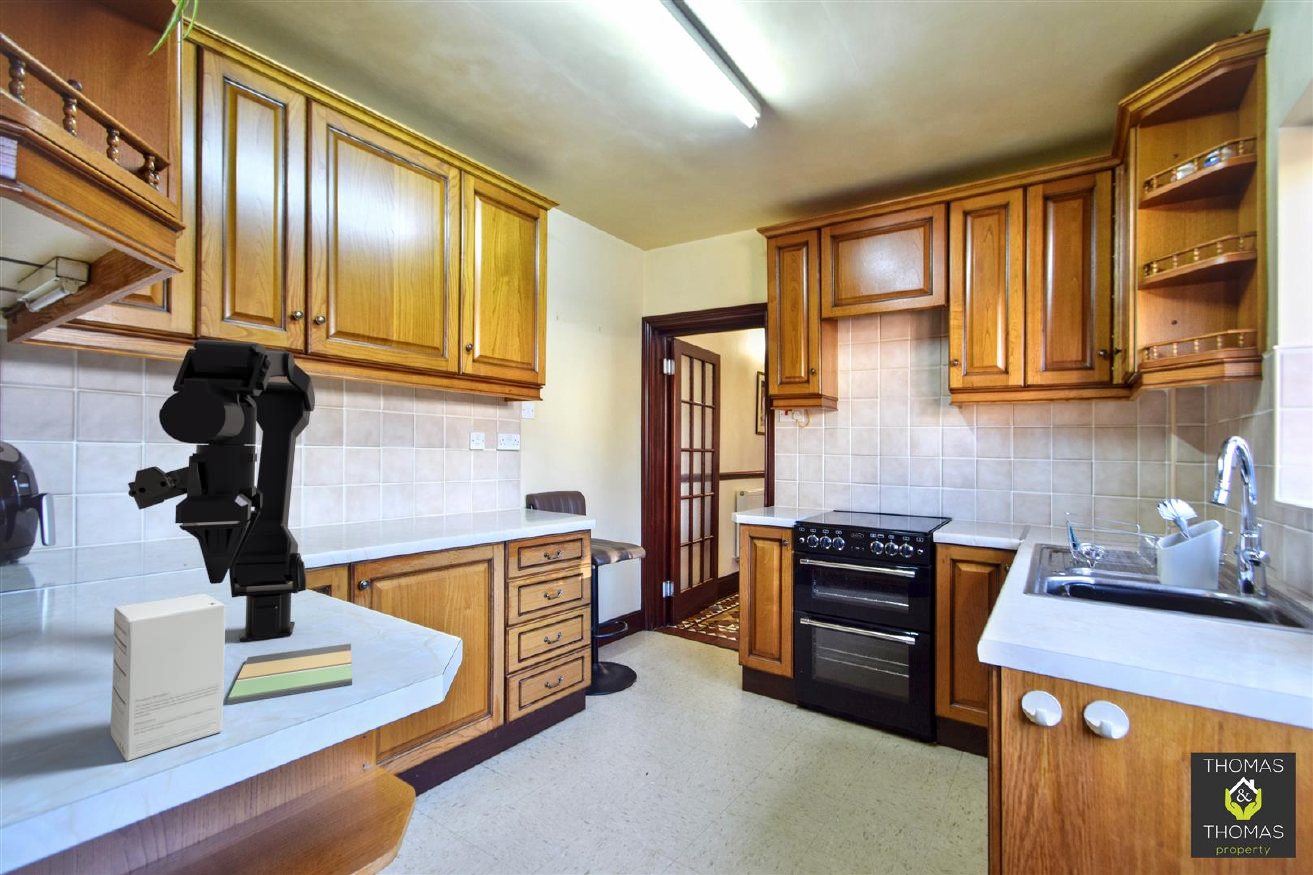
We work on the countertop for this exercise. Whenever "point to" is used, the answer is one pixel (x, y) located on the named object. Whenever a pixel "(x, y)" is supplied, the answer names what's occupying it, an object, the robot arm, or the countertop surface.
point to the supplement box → (167, 673)
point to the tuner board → (292, 673)
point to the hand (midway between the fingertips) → (222, 575)
